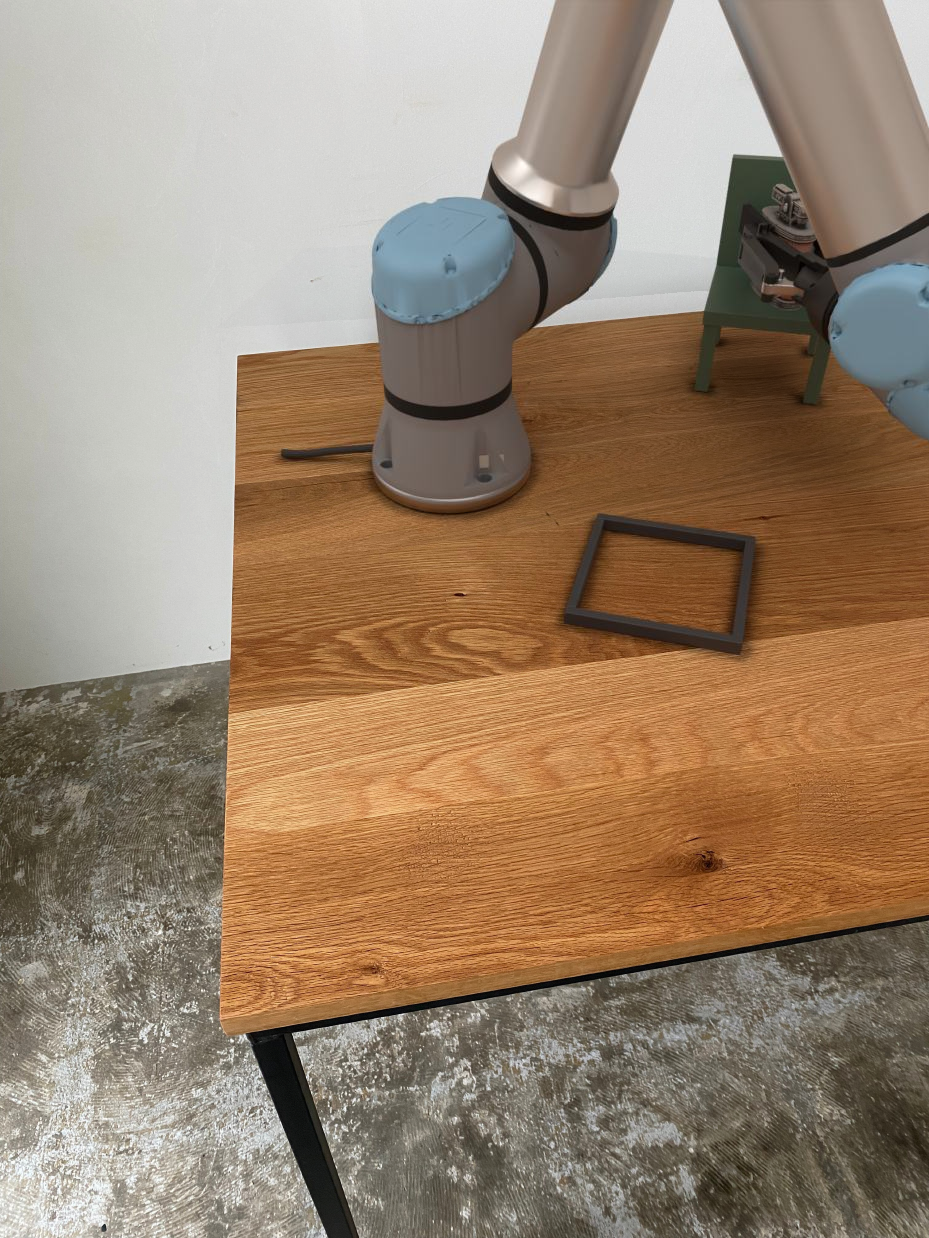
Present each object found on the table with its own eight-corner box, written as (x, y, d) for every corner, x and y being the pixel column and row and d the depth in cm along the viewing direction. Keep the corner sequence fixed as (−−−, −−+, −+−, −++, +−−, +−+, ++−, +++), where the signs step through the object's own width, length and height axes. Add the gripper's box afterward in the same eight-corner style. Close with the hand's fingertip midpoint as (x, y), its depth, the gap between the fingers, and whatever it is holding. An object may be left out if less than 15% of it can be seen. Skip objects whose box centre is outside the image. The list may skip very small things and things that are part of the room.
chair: (692, 391, 100) (720, 196, 87) (705, 337, 109) (733, 154, 96) (818, 406, 97) (869, 206, 83) (822, 349, 106) (867, 161, 93)
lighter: (809, 308, 94) (832, 204, 87) (778, 312, 93) (799, 208, 86) (771, 276, 99) (790, 177, 93) (742, 280, 99) (759, 181, 92)
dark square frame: (563, 623, 74) (564, 612, 73) (596, 523, 83) (597, 512, 83) (740, 655, 71) (742, 643, 70) (753, 547, 80) (756, 536, 79)
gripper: (764, 364, 81) (681, 258, 98) (946, 347, 83) (833, 246, 100) (782, 280, 76) (691, 184, 93) (976, 263, 77) (851, 171, 94)
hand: (764, 216), depth 96 cm, fingers open, 4 cm apart
